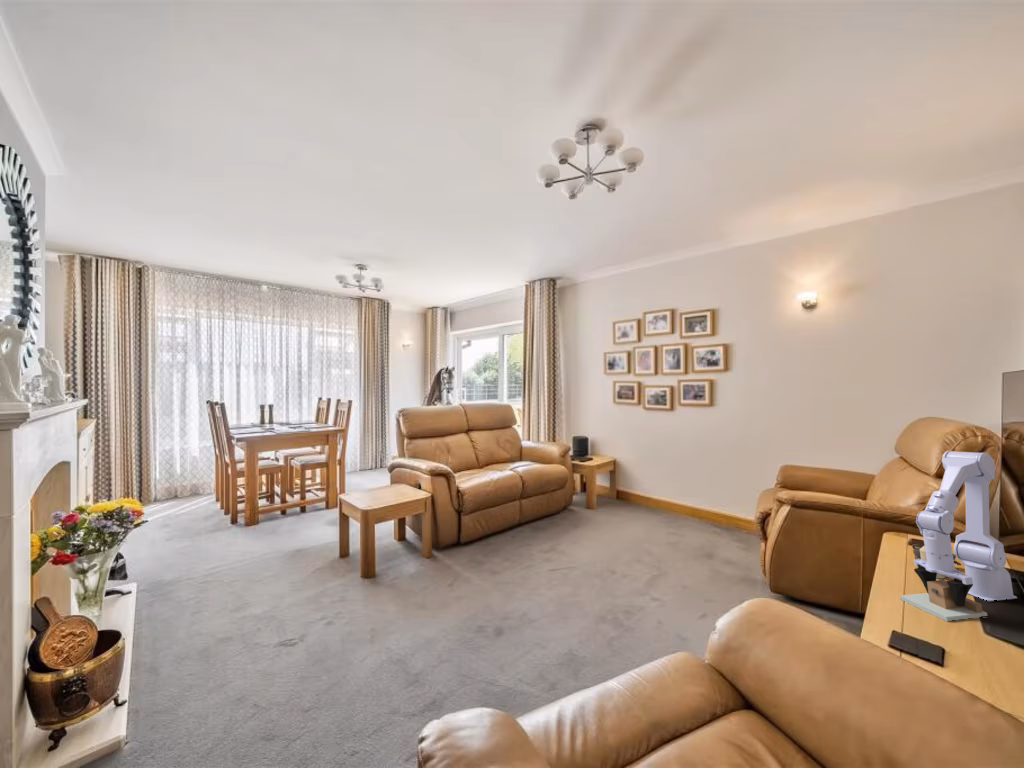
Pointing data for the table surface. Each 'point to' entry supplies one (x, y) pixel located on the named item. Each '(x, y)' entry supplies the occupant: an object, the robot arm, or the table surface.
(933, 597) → the cabinet block
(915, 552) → the dog figurine
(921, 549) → the candle
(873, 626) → the table surface
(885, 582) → the table surface
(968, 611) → the wall board
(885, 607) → the table surface
